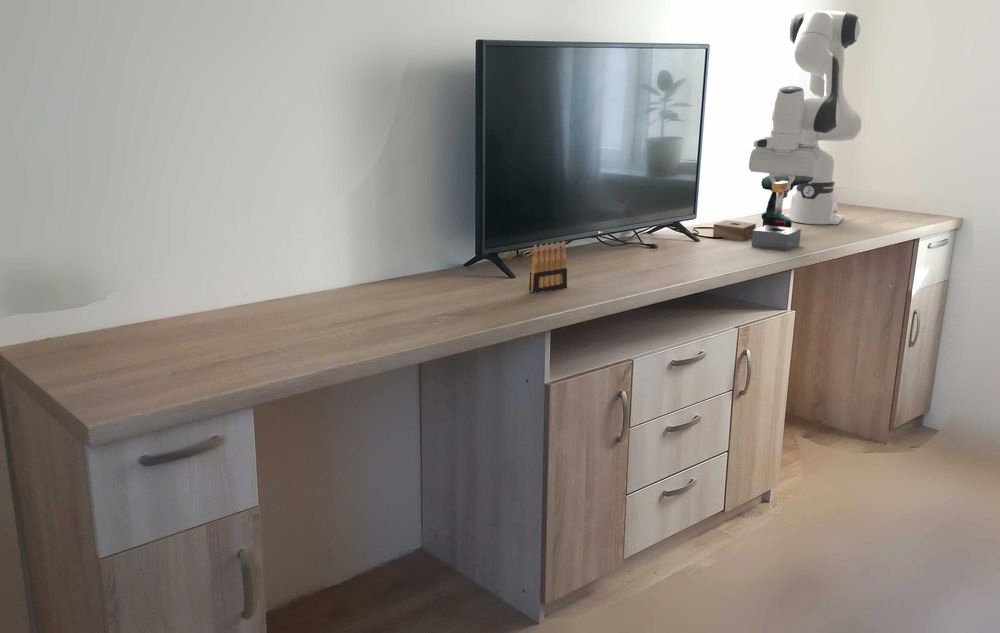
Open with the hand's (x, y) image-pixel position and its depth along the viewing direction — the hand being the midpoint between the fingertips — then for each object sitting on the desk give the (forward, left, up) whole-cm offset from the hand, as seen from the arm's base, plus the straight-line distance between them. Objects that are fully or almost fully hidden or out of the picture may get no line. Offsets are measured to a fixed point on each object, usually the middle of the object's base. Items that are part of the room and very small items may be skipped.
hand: (780, 189), depth 287 cm
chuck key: (0, 0, -7) cm, 7 cm away
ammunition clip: (+90, -24, -18) cm, 95 cm away
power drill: (-22, -6, -18) cm, 29 cm away
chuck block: (0, 0, -17) cm, 17 cm away
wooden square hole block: (-6, -16, -17) cm, 24 cm away
